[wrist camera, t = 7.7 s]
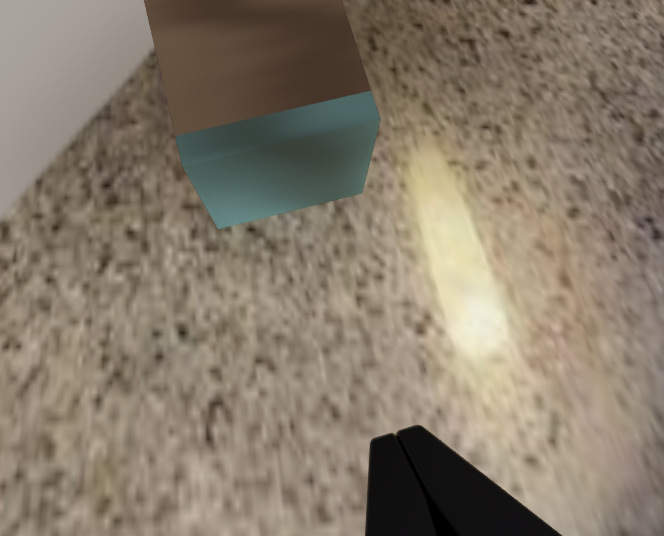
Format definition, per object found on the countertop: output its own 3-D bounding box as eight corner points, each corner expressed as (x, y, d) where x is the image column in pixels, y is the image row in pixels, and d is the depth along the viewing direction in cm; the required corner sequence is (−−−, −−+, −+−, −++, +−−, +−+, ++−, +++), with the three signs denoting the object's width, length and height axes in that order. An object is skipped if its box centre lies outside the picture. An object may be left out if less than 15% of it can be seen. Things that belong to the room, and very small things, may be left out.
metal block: (362, 193, 22) (300, -9, 24) (380, 119, 16) (296, -140, 18) (218, 229, 21) (167, 19, 23) (182, 166, 15) (119, -107, 17)
